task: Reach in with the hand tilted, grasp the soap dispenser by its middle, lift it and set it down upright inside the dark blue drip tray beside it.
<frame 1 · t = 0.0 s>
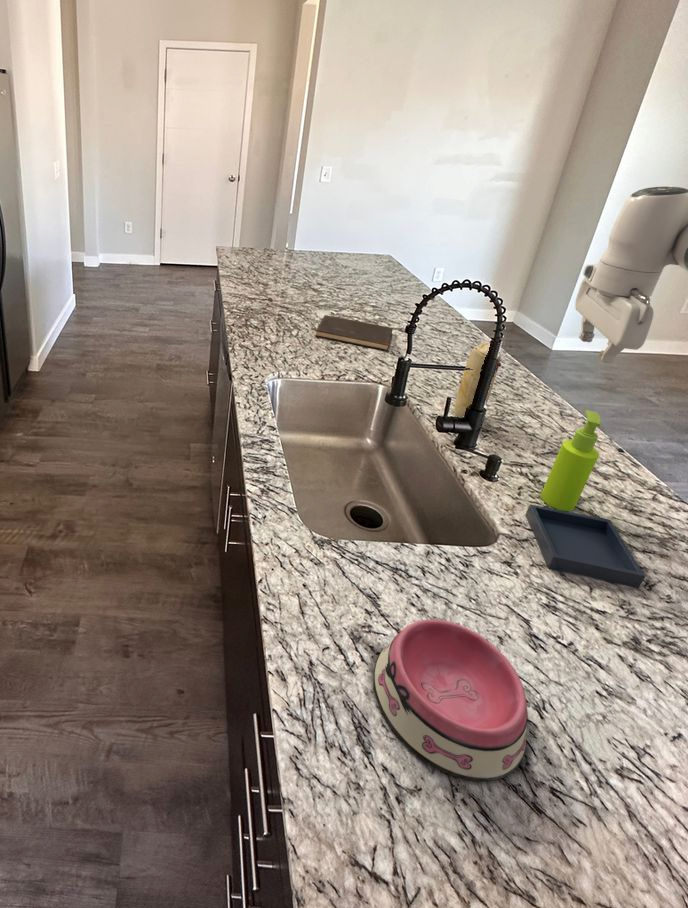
hand: (594, 350, 101), 31 cm above the countertop, tool pointing down, fingers open, 8 cm apart
food model: (466, 418, 137), on the countertop
hardcover book: (353, 335, 181), on the countertop
soap dispenser: (556, 500, 110), on the countertop
dog bowl: (444, 703, 72), on the countertop
drip tray: (577, 548, 97), on the countertop
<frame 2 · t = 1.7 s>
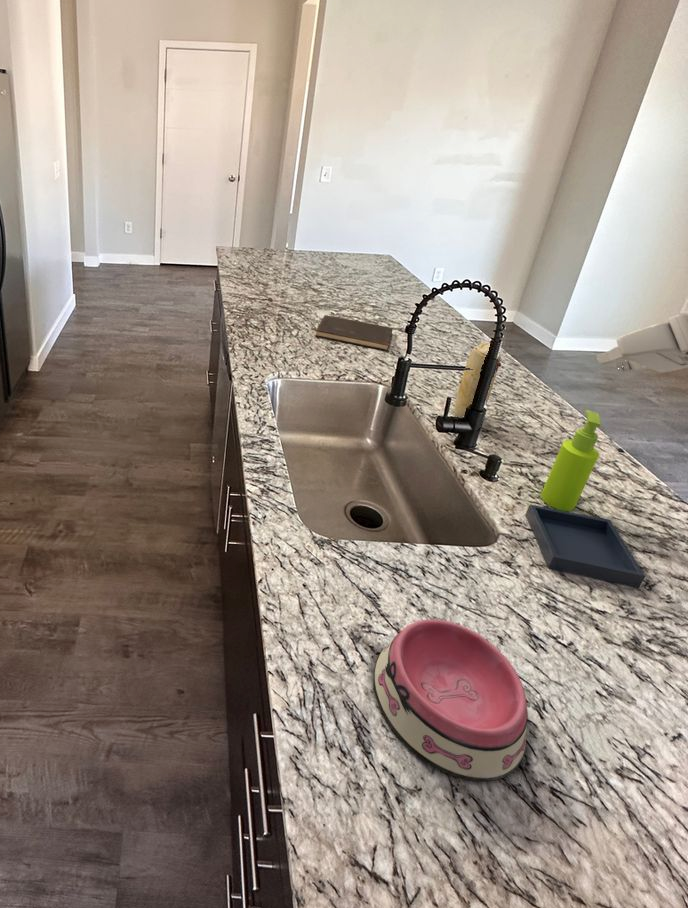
hand: (608, 364, 103), 28 cm above the countertop, tool tilted 50°, fingers open, 8 cm apart
nothing on the countertop moved.
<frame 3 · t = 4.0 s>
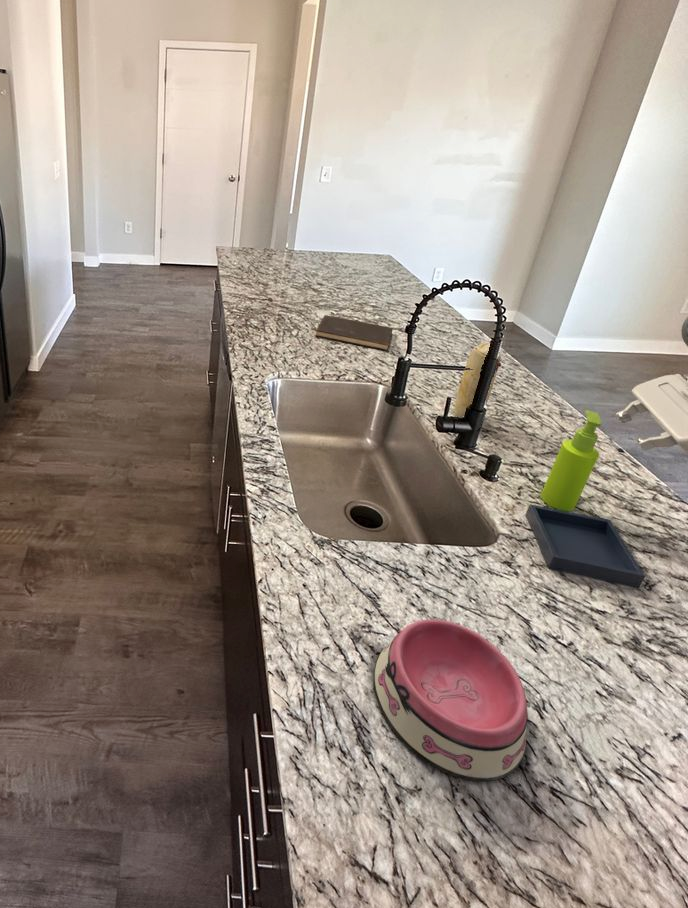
hand: (628, 431, 101), 17 cm above the countertop, tool tilted 45°, fingers open, 8 cm apart
nothing on the countertop moved.
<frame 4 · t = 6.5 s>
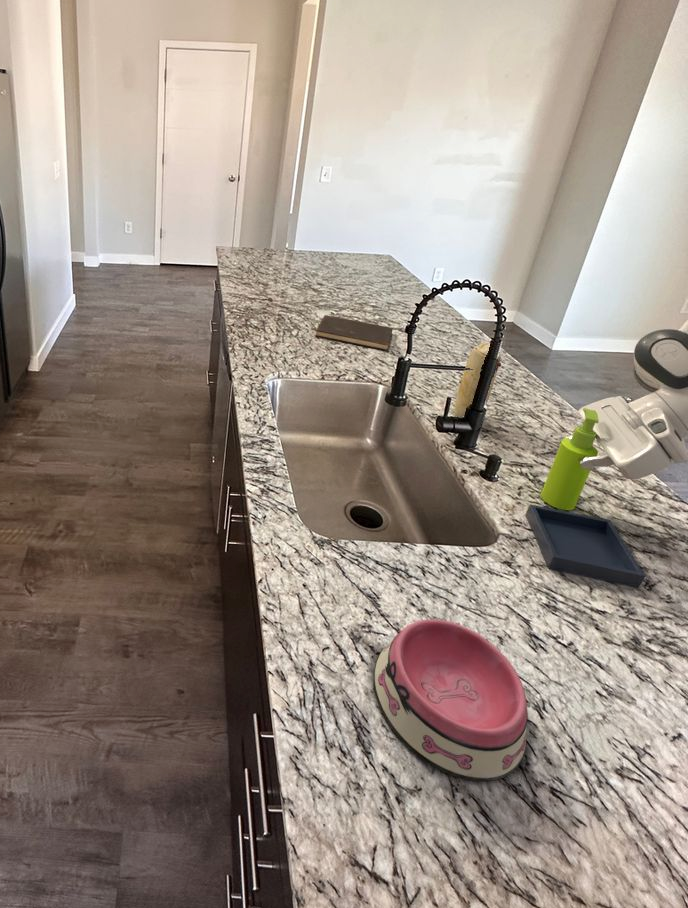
hand: (573, 453, 105), 11 cm above the countertop, tool tilted 45°, fingers closed on soap dispenser, 6 cm apart
soap dispenser: (557, 500, 109), on the countertop, touching gripper
everything else where it was.
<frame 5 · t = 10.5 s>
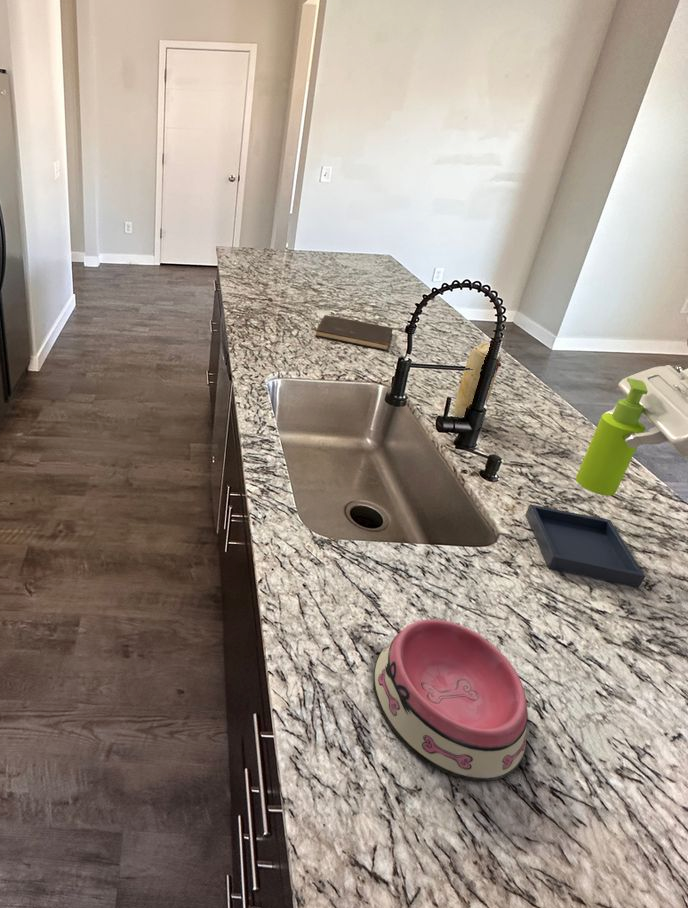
hand: (616, 430, 91), 23 cm above the countertop, tool tilted 45°, fingers closed on soap dispenser, 6 cm apart
soap dispenser: (594, 484, 96), point 12 cm above the countertop, touching gripper
everything else where it was.
when the fingers open (12 cm above the countertop, at t = 14.5 s): soap dispenser stays where it is, resting on drip tray.
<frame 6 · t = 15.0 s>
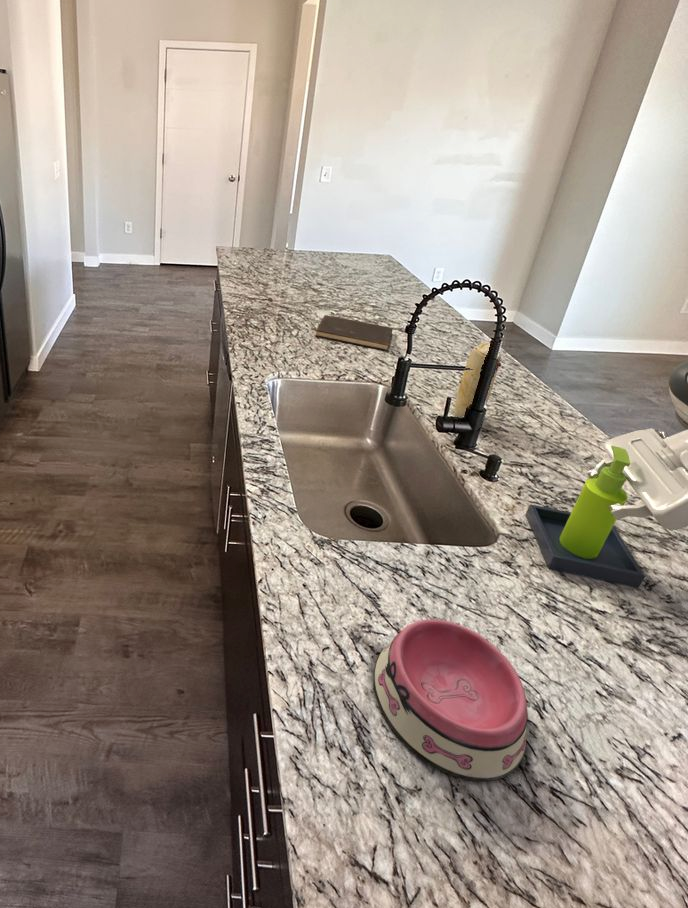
hand: (600, 494, 92), 13 cm above the countertop, tool tilted 45°, fingers open, 8 cm apart
soap dispenser: (577, 545, 98), point 1 cm above the countertop, touching drip tray
everything else where it was.
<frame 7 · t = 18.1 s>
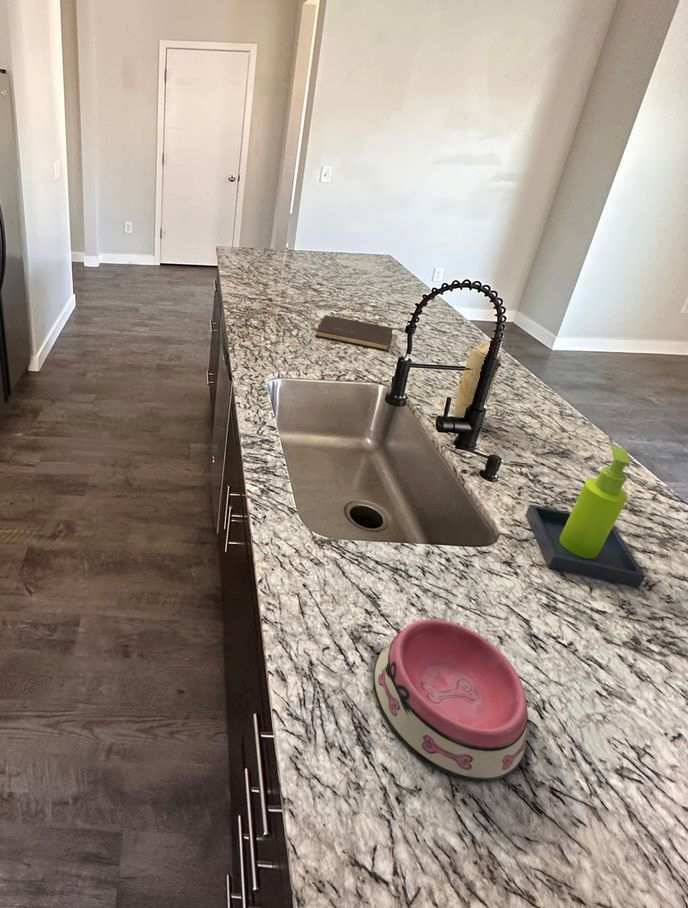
nothing on the countertop moved.
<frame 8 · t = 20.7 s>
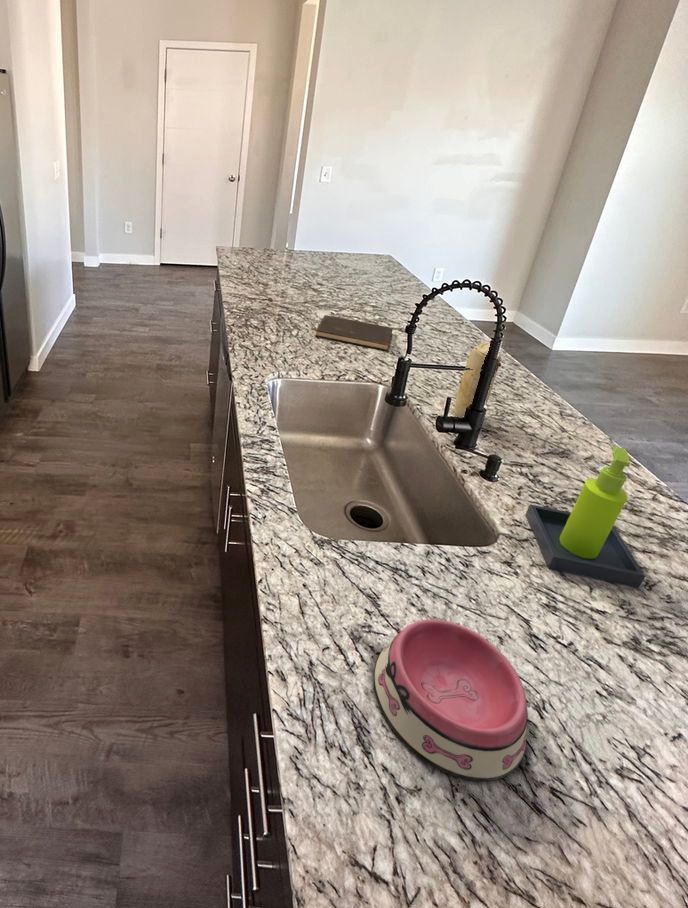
nothing on the countertop moved.
at the end: soap dispenser inside the target area in the drip tray (0.3 cm from its centre), point 0.6 cm above the drip tray's base; soap dispenser tilted 0°; the gripper is holding nothing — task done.
